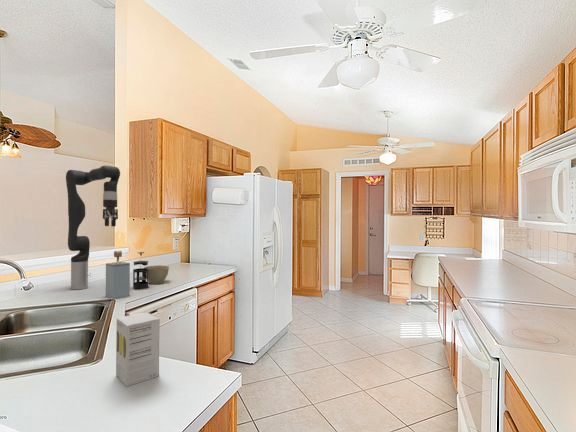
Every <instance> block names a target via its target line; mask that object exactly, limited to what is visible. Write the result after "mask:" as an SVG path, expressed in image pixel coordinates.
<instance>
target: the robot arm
mask: <svg viewBox="0 0 576 432" xmlns="http://www.w3.org/2000/svg"><path fill="white" fill-rule="evenodd" d="M120 176H121V171H120V169H119V167H117V166H112V165H102V166H100V167H98V168H92V169H91V170H89V171H88V172H87V171H82V170H75V169H74V170H73V169H69V170H67V171H66V173H65V184H66V191H67V192H66V193H67V208H68V209H67V210H68V211H67V214H68V235H67V247H68V250H69V251H71V252H78V253H77V254H76V255H73V256H71V258H70V290H73V291H75V290H85V289H88V288H89V257H90V245H91V244H90V243H91V241H90V239H89V237H88V236H86V235H79V236H78V230H79V227H80V225H81V224H82V222H83V221H84V219H85V218H86V205H85V204H86V203H84V201H83V199H82V198H81V196H80V195H79V193H78V191H77V190H78V189H77V186H84V185H87V184H89V183H91V182H96V181H102V180H105V179H106V178H110V180H109V181H105V182H103V195H102V207H103V209H102V219H103V220H104V227H109V226H111V227H113V228H114V227H116V225H117V220H118V219H119V210H118V209H119V208H117V207H118V183H119V179H120ZM110 221H111V222H110ZM110 223H111V225H110Z"/></svg>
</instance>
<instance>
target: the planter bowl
mask: <svg viewBox="0 0 576 432" xmlns="http://www.w3.org/2000/svg"><path fill="white" fill-rule="evenodd" d="M143 268H147V269H148V284H154V285H157V284H163V283H164V281H165V280H166V279H167V277H168V275H169V269H170V267H169V266H168V265H149V266H148V265H146V266H144V267H143ZM146 277H147V272H146Z"/></svg>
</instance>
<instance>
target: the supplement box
mask: <svg viewBox="0 0 576 432" xmlns="http://www.w3.org/2000/svg"><path fill="white" fill-rule="evenodd" d="M160 321H161V319H160V318H159V317H157V316H155V315H153V314H152V313H150V312H149V311H146V312H141V313H135V314H134V313H133V314H129V315H124V316H120V317H117V318H116V332H115V333H116V342H115V343H116V346H115V347H116V349H115V357H116V358H115V375H116V376H117V378H118V379H119V380H120V381H121V383H123V384H124V385H125V387H130V386H132V385H136V384H138V383H141V382H144V381H147V380H150V379H154V378H156V377H159V375H160V326H161V325H160V323H161V322H160Z"/></svg>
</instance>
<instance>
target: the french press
mask: <svg viewBox="0 0 576 432" xmlns="http://www.w3.org/2000/svg"><path fill="white" fill-rule="evenodd" d="M137 254H139V255H140V256H142V255H143V254H145V252H144V251H143V252H142V251H139V252H137ZM132 263H133V266H137V265H141V266H144V267H147V266H148V264H149V260H137V261H133V262H132ZM144 267H140V268H133V271H132V272H133V273H132V274H133V275H132V280H133V281H132V282H133V283H132V290H136V291H137V290H146V289H149V288H150V286H149V281H148V269H147V268H144ZM146 272H147V277H146Z"/></svg>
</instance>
